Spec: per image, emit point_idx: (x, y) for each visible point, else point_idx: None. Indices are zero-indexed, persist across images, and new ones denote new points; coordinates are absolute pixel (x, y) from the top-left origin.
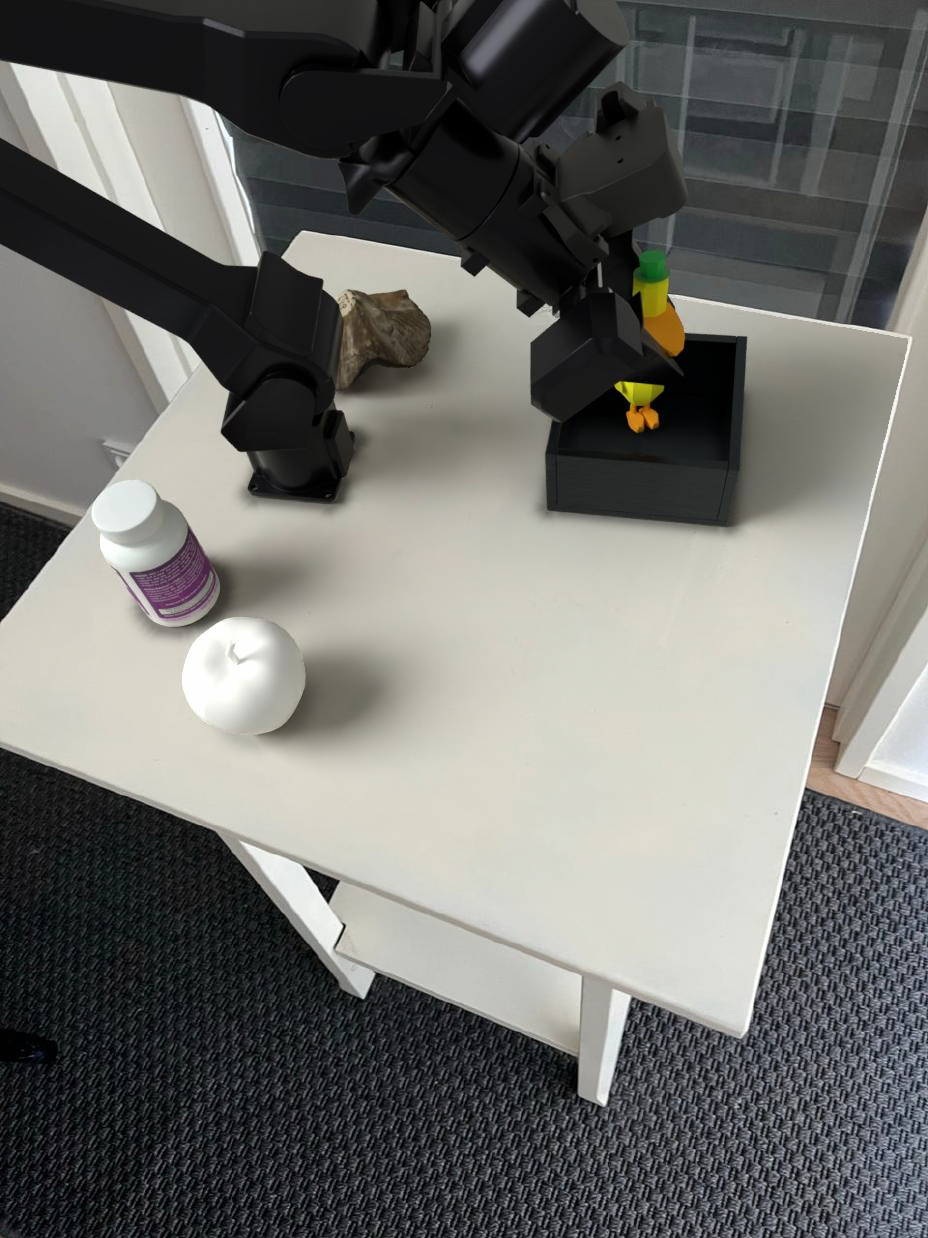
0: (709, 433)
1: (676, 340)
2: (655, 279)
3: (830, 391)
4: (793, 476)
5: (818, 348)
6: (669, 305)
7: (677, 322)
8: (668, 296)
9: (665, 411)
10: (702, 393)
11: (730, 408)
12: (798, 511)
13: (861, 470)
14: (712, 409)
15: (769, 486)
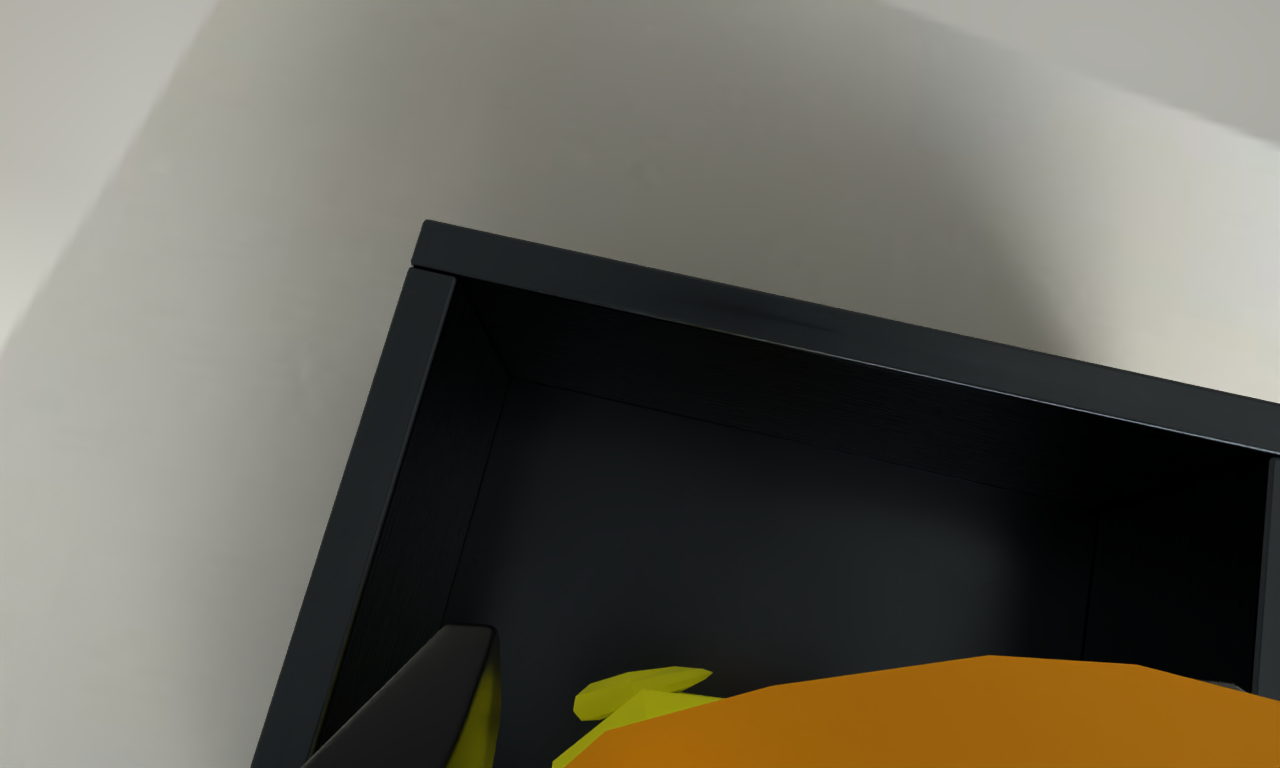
0: (696, 471)
1: (1197, 757)
2: None
3: (517, 33)
4: (895, 222)
5: (303, 26)
6: (650, 734)
7: (922, 701)
8: (400, 683)
9: (551, 628)
10: (485, 463)
11: (823, 379)
12: (1052, 238)
13: (881, 20)
14: (568, 438)
15: (937, 307)
